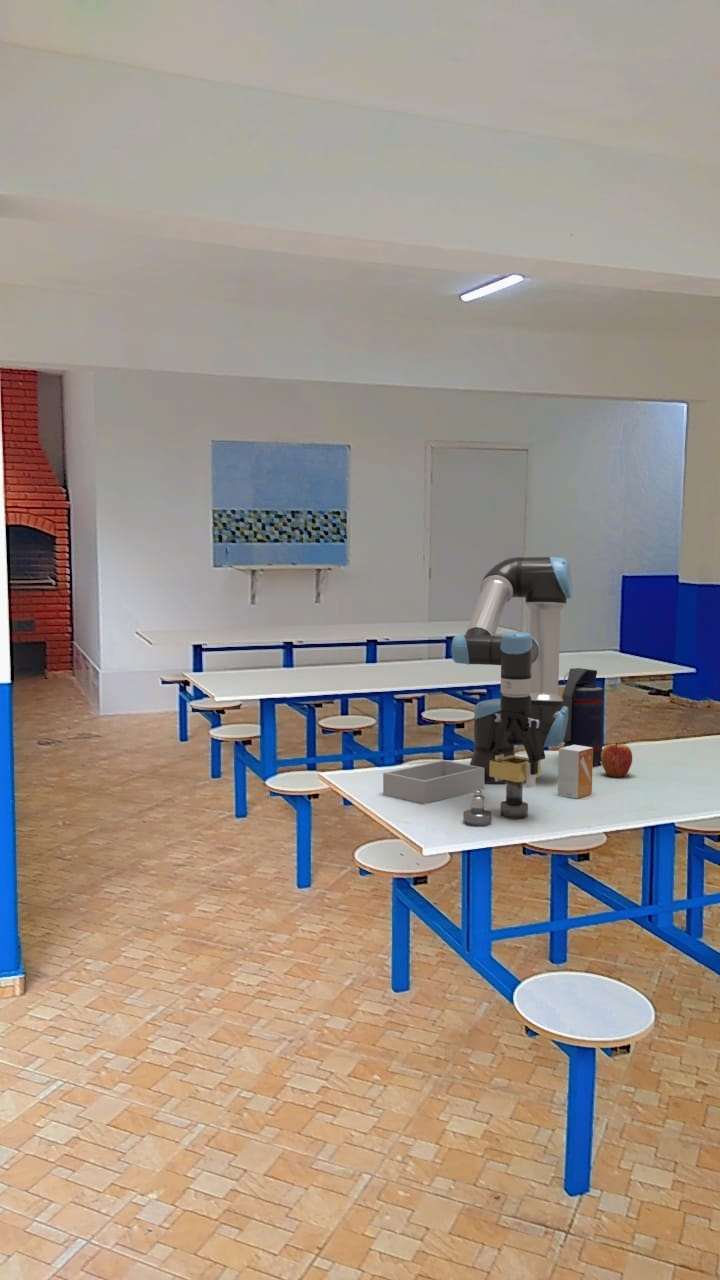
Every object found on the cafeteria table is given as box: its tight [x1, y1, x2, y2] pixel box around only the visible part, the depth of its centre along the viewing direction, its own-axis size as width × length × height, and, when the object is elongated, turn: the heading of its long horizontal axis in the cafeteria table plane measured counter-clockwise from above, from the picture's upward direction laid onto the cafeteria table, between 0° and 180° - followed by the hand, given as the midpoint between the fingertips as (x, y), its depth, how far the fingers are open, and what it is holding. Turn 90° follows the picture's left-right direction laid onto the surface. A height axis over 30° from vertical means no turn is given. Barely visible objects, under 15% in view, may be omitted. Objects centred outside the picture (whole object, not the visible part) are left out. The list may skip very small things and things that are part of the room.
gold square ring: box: [489, 755, 542, 782], centre depth 251 cm, size 9×9×4 cm
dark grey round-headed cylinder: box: [499, 780, 529, 820], centre depth 252 cm, size 7×7×10 cm
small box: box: [557, 745, 594, 799], centre depth 274 cm, size 8×6×13 cm
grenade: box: [561, 667, 605, 766], centre depth 314 cm, size 14×12×30 cm
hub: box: [462, 790, 493, 827], centre depth 245 cm, size 7×7×8 cm
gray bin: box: [382, 759, 485, 805], centre depth 277 cm, size 15×25×6 cm, turn 134°
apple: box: [601, 742, 633, 778], centre depth 298 cm, size 9×9×10 cm
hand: (514, 783), depth 252 cm, fingers closed on gold square ring, 9 cm apart
